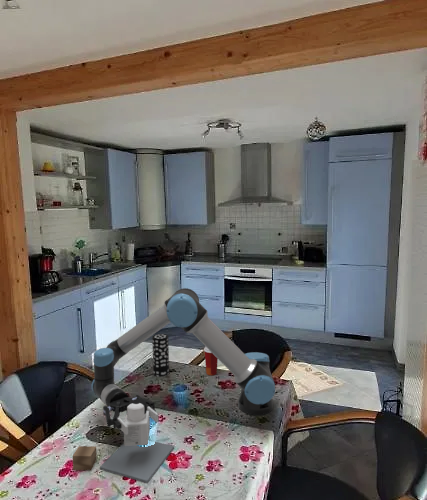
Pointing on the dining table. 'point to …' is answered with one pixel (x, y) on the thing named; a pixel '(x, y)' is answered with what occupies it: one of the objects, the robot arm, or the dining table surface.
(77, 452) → the walnut block
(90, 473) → the dining table surface
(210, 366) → the paper cup
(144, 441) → the container
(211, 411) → the dining table surface
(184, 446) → the dining table surface
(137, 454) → the slate plate
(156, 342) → the white-spotted black cylinder
